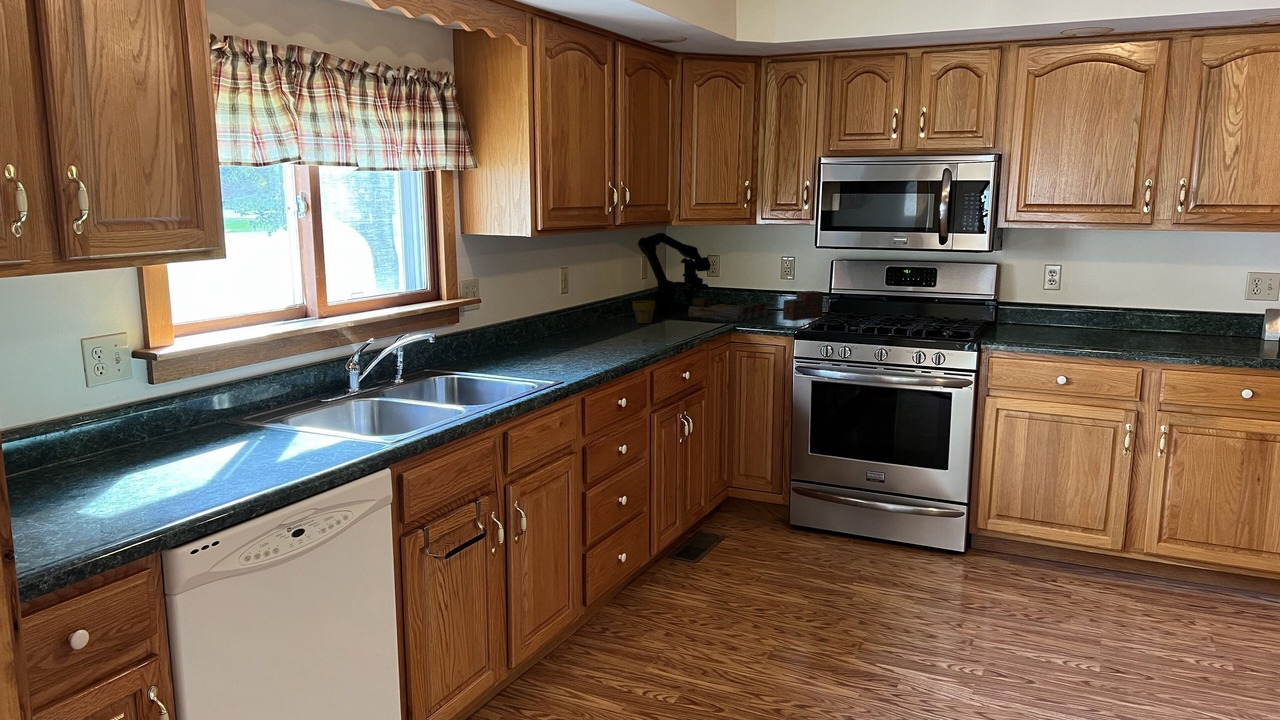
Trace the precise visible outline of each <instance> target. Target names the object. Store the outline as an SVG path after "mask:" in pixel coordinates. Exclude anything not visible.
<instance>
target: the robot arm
mask: <svg viewBox="0 0 1280 720" xmlns="http://www.w3.org/2000/svg"><path fill="white" fill-rule="evenodd" d="M661 243H662V244H664V245H666V246H668V247H670V248H672V249H674V250H676V251H677V252H678V253H679V254H681V256H682V260H680V263H681V264H684V268H683V269H684V273H682V277H683V279H684V280H683V281H675V282H674V281H673V280H669V279H668V278H667V276H666V274H665V272H664V269H663V267H662V264H661V261H660V260H659V257H658V255H657V246H659V245H660V244H661ZM637 245H638V246H637V247H638V248H639V250H640V251H641V253H643V254H644V255H645V257H646V258H647V261H648V262H649V265H650V268H651V270H652V272H653V274H654V277H655V279H656V281H657V293H655V295H654V296H653V297H654V301H656V311H654V314H658V315H669V314H673V311H671V302H673V301H674V300H673V299H674V297H675V295H676V293H677V292H676V289H678V288H681V289H680V291H682V293H683V294H684V296H685V298H686V301H687V303H688V304H692V302H693V300H694V296H695V294H696V292H699V291H706V290H707V291H708V290H709V285H708V283H704V279H703V278H701V277H699V276H698V275H699V274H698V273H697V272H709V271H710V269H711V265H712V264H711V261H710V260H709V257H708V256H704V257H702V256H701V255H700V253H699V251H698V247H696V246H692V245H690V244H685V243H683V242H681V241H678V239H675V238H673V237H671V236H669V235H668V234H665V232H657V233H655V234H652V235H650V236H649V235H648V236H647V237H641V238H640V239H639V240H638V242H637Z"/></svg>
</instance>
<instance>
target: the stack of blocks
mask: <svg viewBox="0 0 1280 720" xmlns="http://www.w3.org/2000/svg"><path fill="white" fill-rule="evenodd" d="M823 305H824V291H821V290H820V291H819V290H805V291H797V292H796V298H791V299H783V306H782V320H785V321H792V322H793V321H802V320H808V319H816V318H823V314H824V313H823V310H824V309H823V308H824V307H823Z"/></svg>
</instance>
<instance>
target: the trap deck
mask: <svg viewBox="0 0 1280 720" xmlns="http://www.w3.org/2000/svg"><path fill="white" fill-rule="evenodd" d="M687 311H688V314H687V315H688V317H689V318H691V317H693V318H699V317H701V319H708V318H711V319H712V320H717V319H719V320H718V321H726V320H729V321H728V322H735V321H739V322H743V321H748V320H752V319H757V318H761V317H762V318H763V317H767V316H770V308H767V307H766V303H764V302H763V303H762V302H761V303H756V304H750V305H744V306H743V305H734V304H725V303H720V304H715V305H714V304H713V305H711V307H705V308H700V307H693V305H692V306H688V310H687ZM711 319H710V320H711ZM742 320H743V321H742Z"/></svg>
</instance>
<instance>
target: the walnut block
mask: <svg viewBox="0 0 1280 720" xmlns="http://www.w3.org/2000/svg"><path fill="white" fill-rule="evenodd" d="M711 302H712V298H711V297H695V298H693V304H692V306H693V307H700V308H705V307H711V306H712V305H711Z"/></svg>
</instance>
